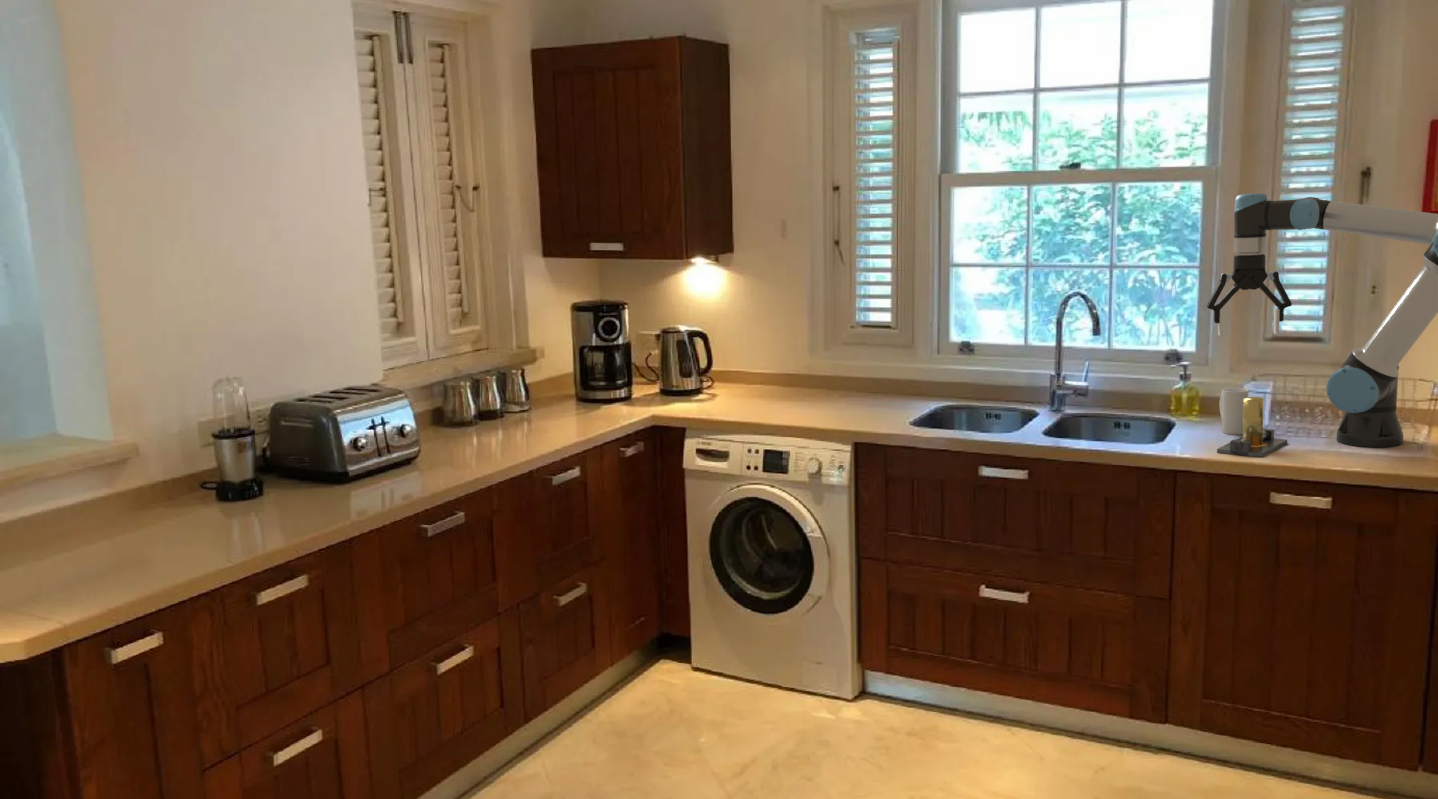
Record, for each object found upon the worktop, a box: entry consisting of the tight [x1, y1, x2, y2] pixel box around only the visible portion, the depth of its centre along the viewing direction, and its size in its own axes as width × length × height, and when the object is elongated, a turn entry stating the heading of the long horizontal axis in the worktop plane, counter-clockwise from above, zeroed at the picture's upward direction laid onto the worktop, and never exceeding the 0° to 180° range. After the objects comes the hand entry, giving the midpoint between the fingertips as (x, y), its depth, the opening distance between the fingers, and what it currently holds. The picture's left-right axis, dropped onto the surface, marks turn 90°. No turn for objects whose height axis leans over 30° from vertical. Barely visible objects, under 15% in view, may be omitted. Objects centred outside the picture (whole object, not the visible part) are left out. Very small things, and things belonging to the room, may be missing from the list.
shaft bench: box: [1216, 428, 1288, 458], centre depth 301 cm, size 19×11×3 cm, turn 136°
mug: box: [1218, 387, 1250, 436], centre depth 321 cm, size 10×7×12 cm, turn 11°
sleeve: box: [1242, 396, 1264, 446], centre depth 300 cm, size 5×5×12 cm
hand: (1248, 334), depth 304 cm, fingers open, 13 cm apart
